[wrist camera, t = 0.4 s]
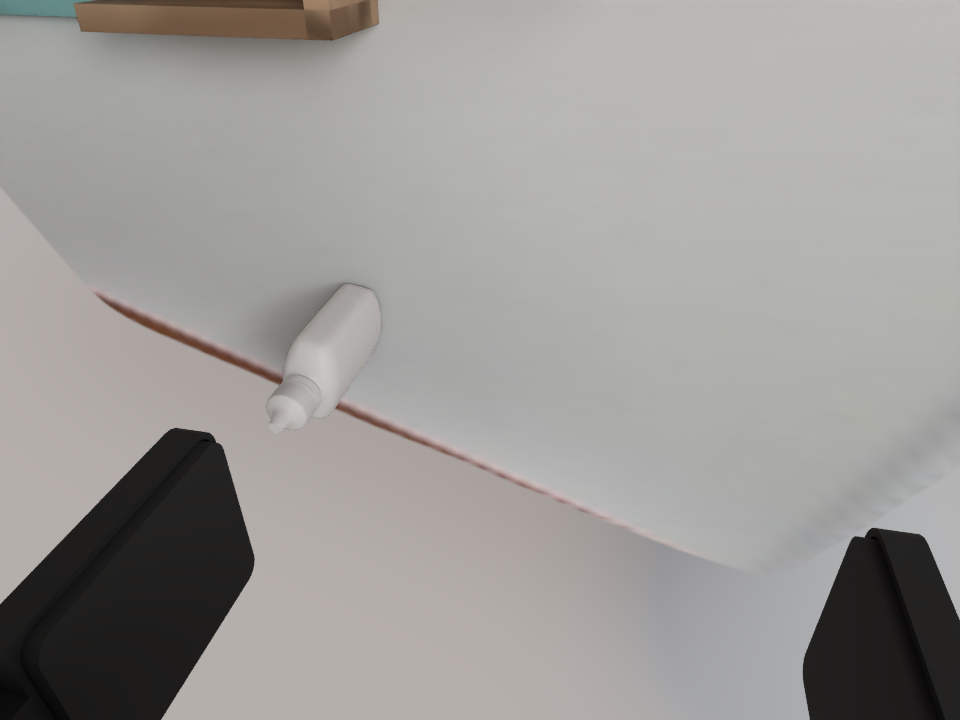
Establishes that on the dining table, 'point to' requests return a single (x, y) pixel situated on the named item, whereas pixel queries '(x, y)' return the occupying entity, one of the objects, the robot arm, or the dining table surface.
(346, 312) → the eye dropper bottle
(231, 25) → the cubby
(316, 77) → the dining table surface
